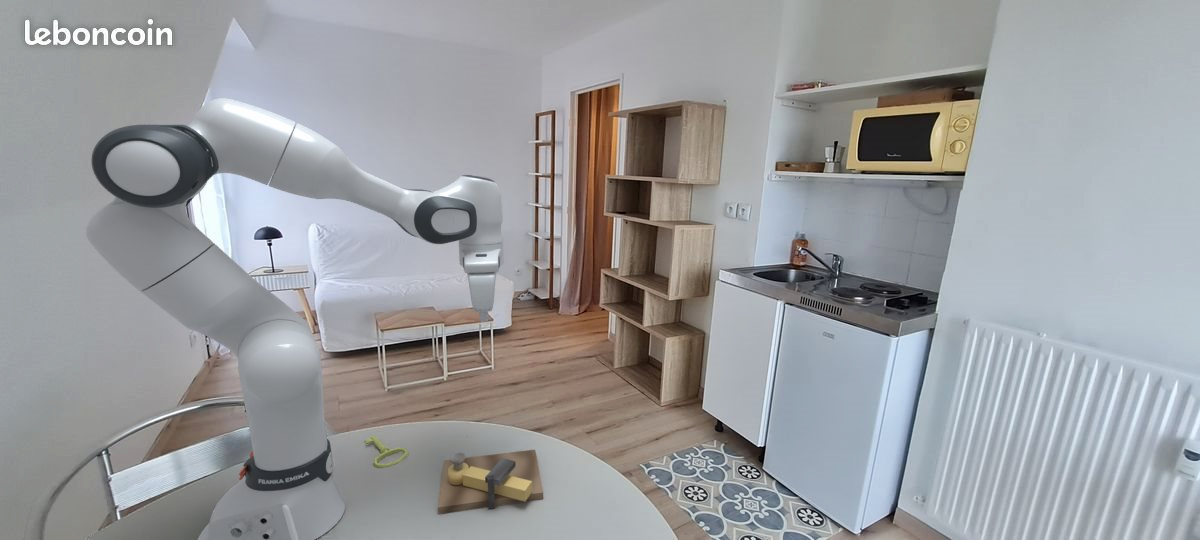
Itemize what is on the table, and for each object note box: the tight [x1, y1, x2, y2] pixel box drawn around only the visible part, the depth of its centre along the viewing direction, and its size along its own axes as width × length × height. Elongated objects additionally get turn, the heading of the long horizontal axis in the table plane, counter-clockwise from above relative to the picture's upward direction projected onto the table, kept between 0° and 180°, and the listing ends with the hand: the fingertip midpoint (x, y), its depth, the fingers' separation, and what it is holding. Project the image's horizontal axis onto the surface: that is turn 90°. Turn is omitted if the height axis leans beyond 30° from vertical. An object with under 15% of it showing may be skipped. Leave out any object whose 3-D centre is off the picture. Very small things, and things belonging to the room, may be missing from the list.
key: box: [363, 435, 409, 469], centre depth 107 cm, size 7×12×2 cm, turn 66°
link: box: [448, 463, 532, 502], centre depth 95 cm, size 18×4×2 cm, turn 72°
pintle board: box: [437, 449, 544, 515], centre depth 98 cm, size 20×16×7 cm
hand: (483, 319), depth 100 cm, fingers closed
